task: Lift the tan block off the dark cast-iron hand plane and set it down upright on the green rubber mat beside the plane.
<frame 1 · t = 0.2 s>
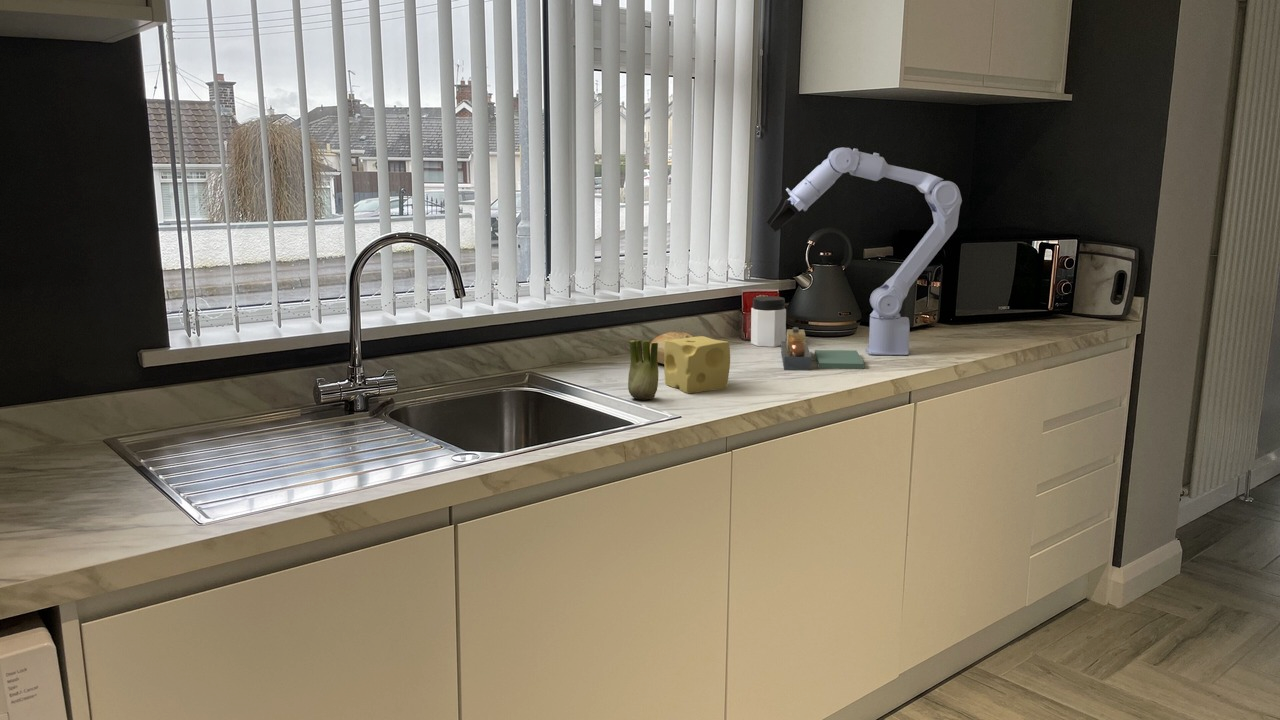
hand: (770, 226, 236), 31 cm above the worktop, tool tilted 45°, fingers open, 7 cm apart
bread roll: (674, 367, 227), on the worktop
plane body: (795, 361, 230), on the worktop
fennel bulb: (642, 400, 195), on the worktop
jar: (768, 345, 252), on the worktop
mat: (838, 361, 229), on the worktop
tan block: (795, 348, 230), point 3 cm above the worktop, touching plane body
cheese: (695, 387, 205), on the worktop
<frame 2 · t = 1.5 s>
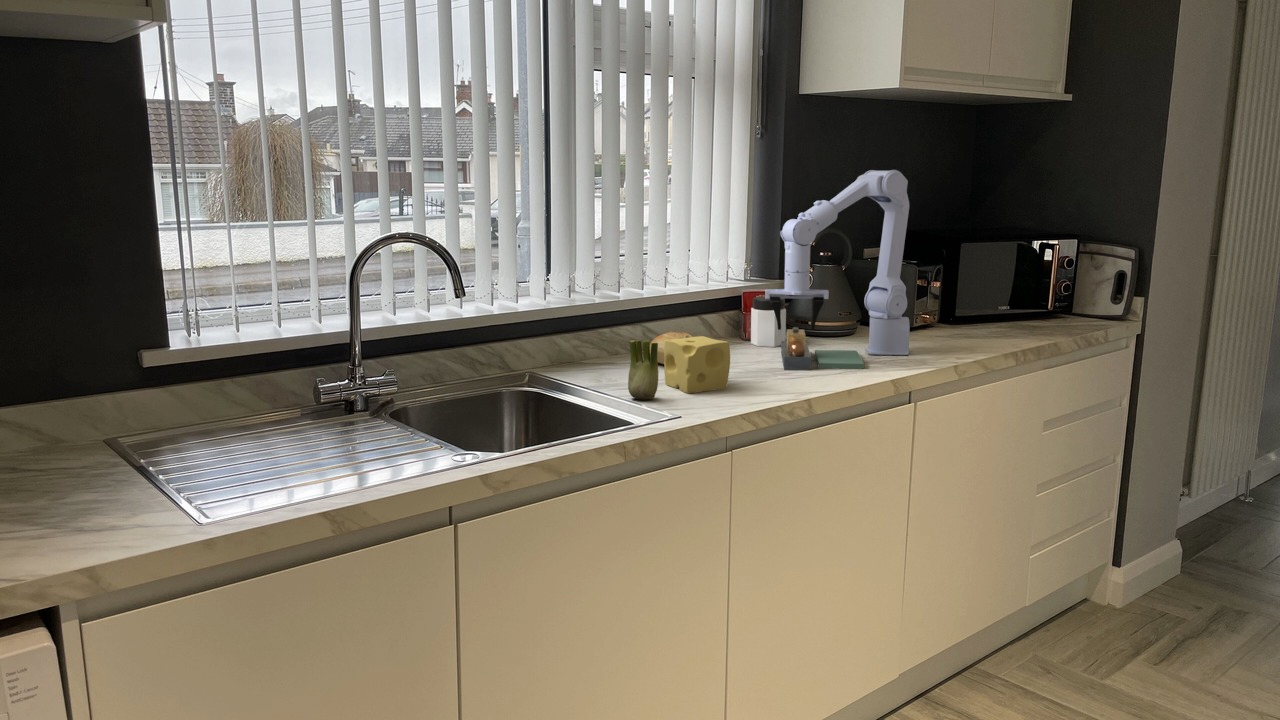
hand: (795, 329, 229), 8 cm above the worktop, tool pointing down, fingers open, 7 cm apart
nothing on the worktop moved.
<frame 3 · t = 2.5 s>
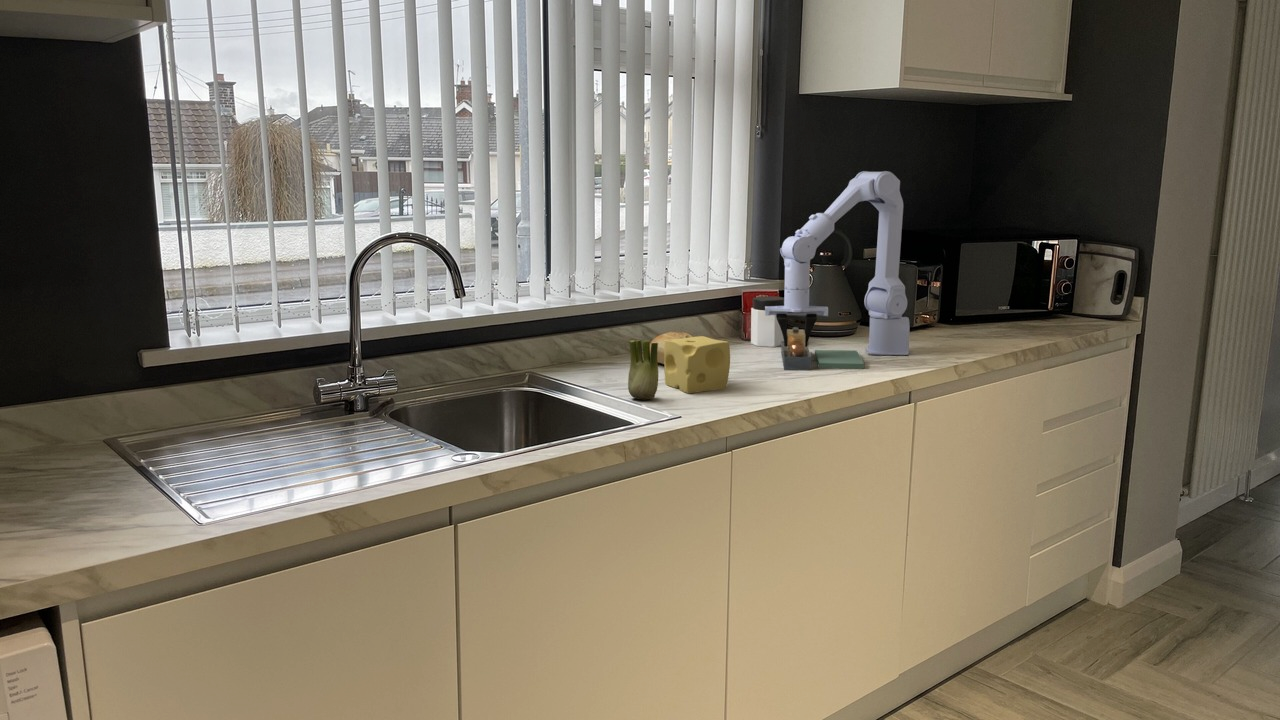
hand: (795, 345, 230), 4 cm above the worktop, tool pointing down, fingers closed on tan block, 4 cm apart
tan block: (795, 348, 230), point 3 cm above the worktop, touching gripper, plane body
everything else where it was.
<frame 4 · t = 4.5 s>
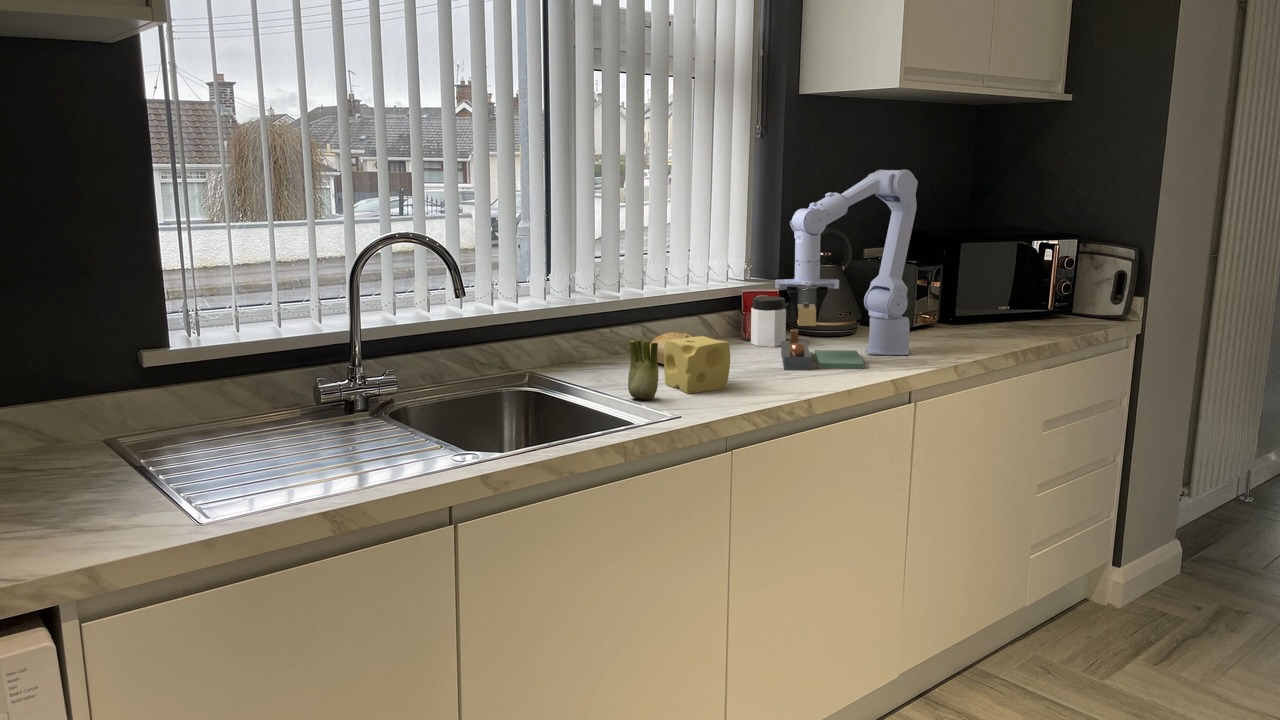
hand: (806, 319, 228), 10 cm above the worktop, tool pointing down, fingers closed on tan block, 4 cm apart
tan block: (806, 323, 228), point 9 cm above the worktop, touching gripper
everything else where it was.
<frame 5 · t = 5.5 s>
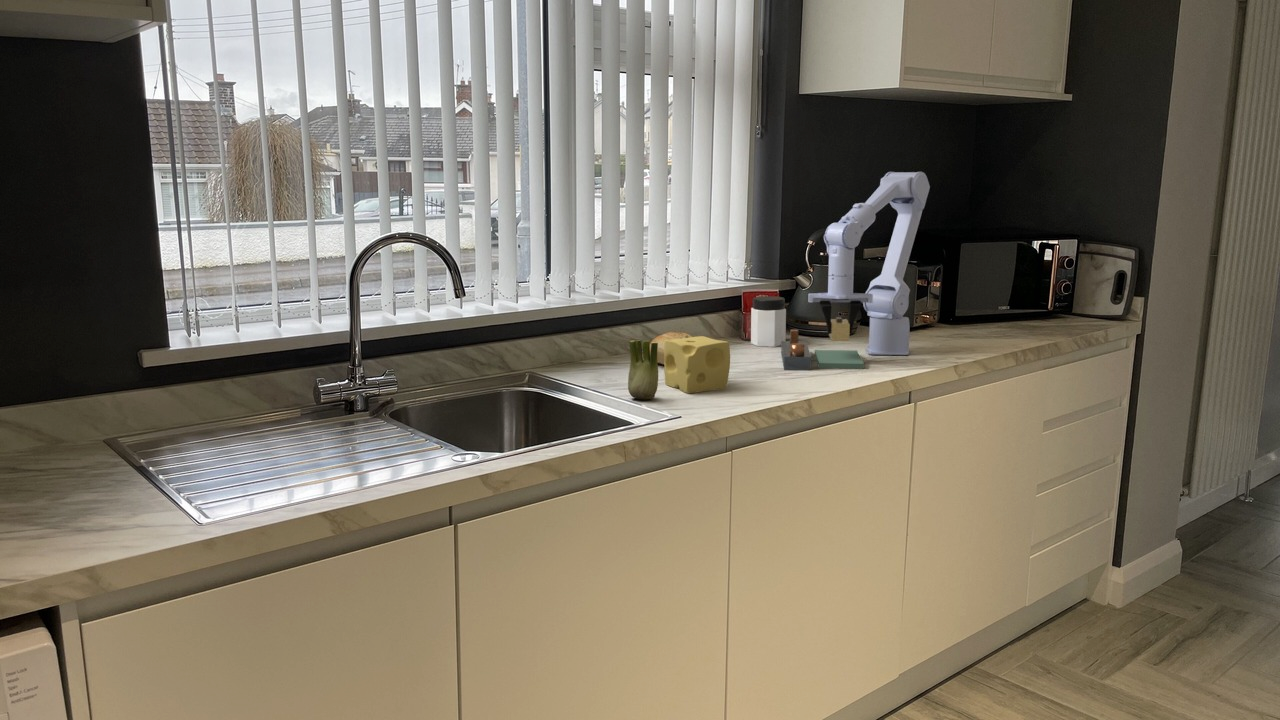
hand: (839, 333, 228), 7 cm above the worktop, tool pointing down, fingers closed on tan block, 4 cm apart
tan block: (839, 338, 228), point 6 cm above the worktop, touching gripper
everything else where it was.
when the fingers open (3 cm above the worktop, at t = 6.5 s): tan block stays where it is, resting on mat.
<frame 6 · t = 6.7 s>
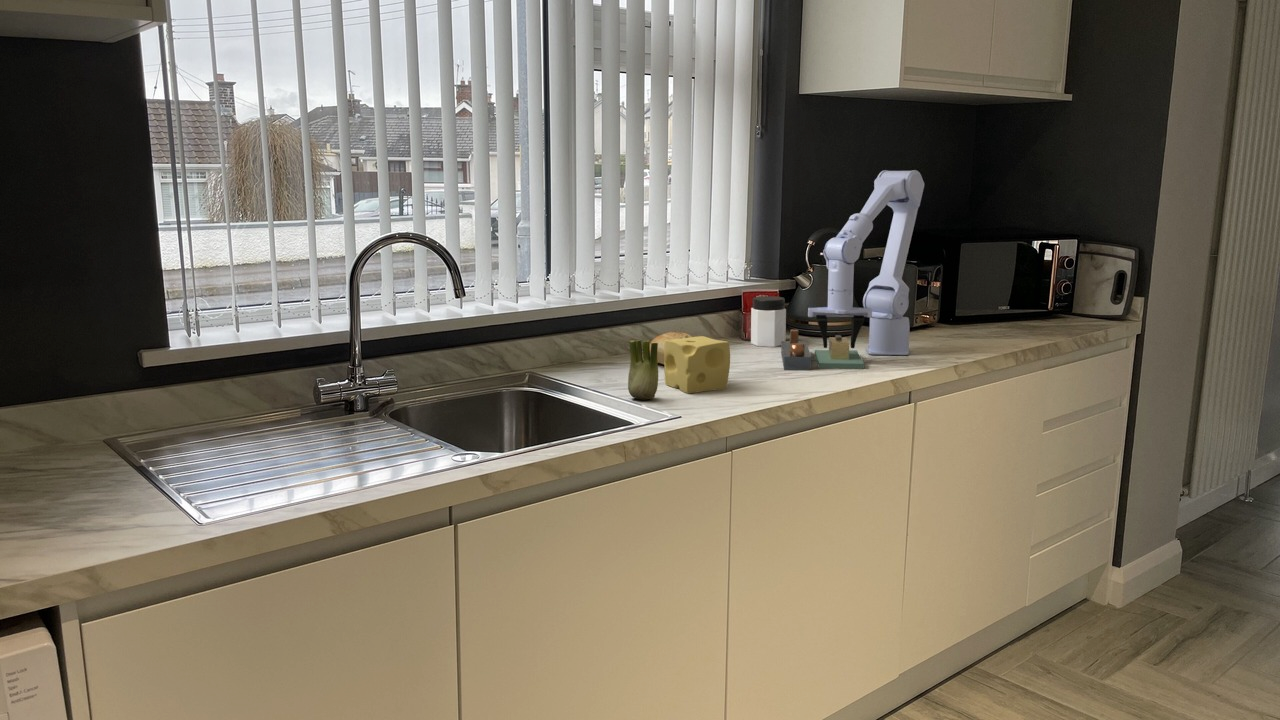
hand: (838, 347, 229), 3 cm above the worktop, tool pointing down, fingers open, 6 cm apart
tan block: (838, 356, 229), point 1 cm above the worktop, touching mat
everything else where it was.
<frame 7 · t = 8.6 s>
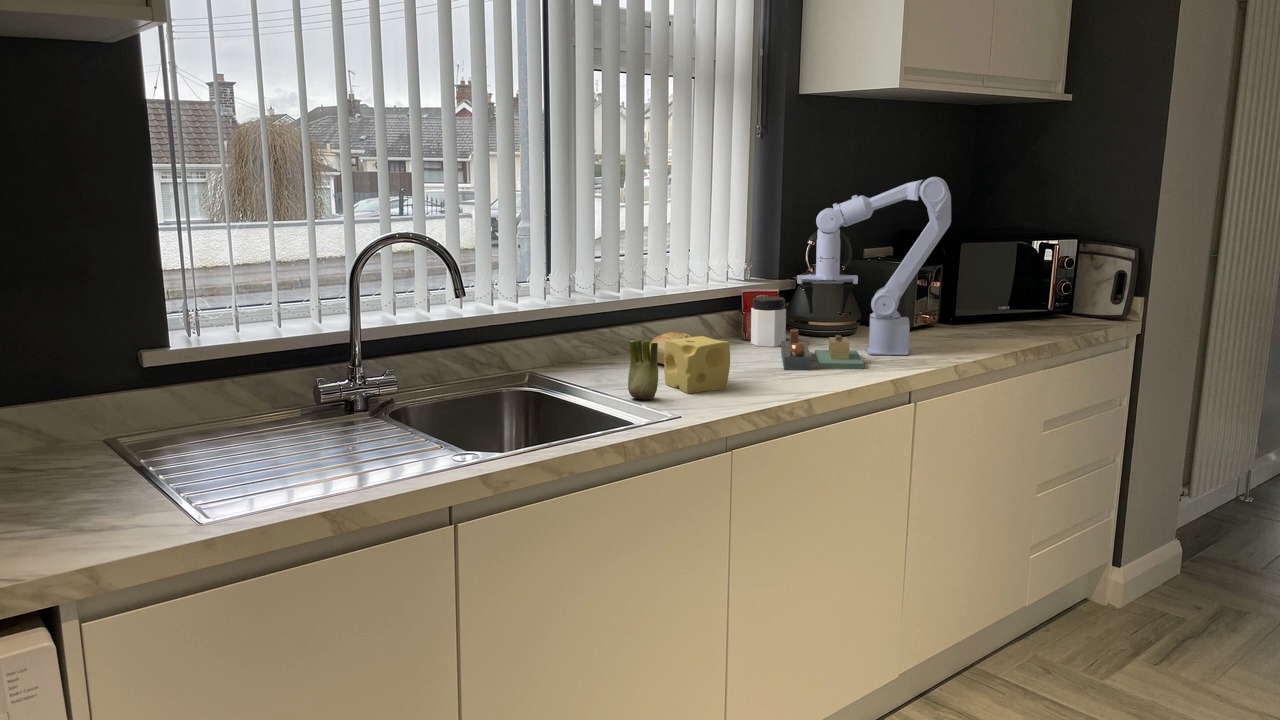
hand: (826, 312, 242), 9 cm above the worktop, tool pointing down, fingers open, 7 cm apart
nothing on the worktop moved.
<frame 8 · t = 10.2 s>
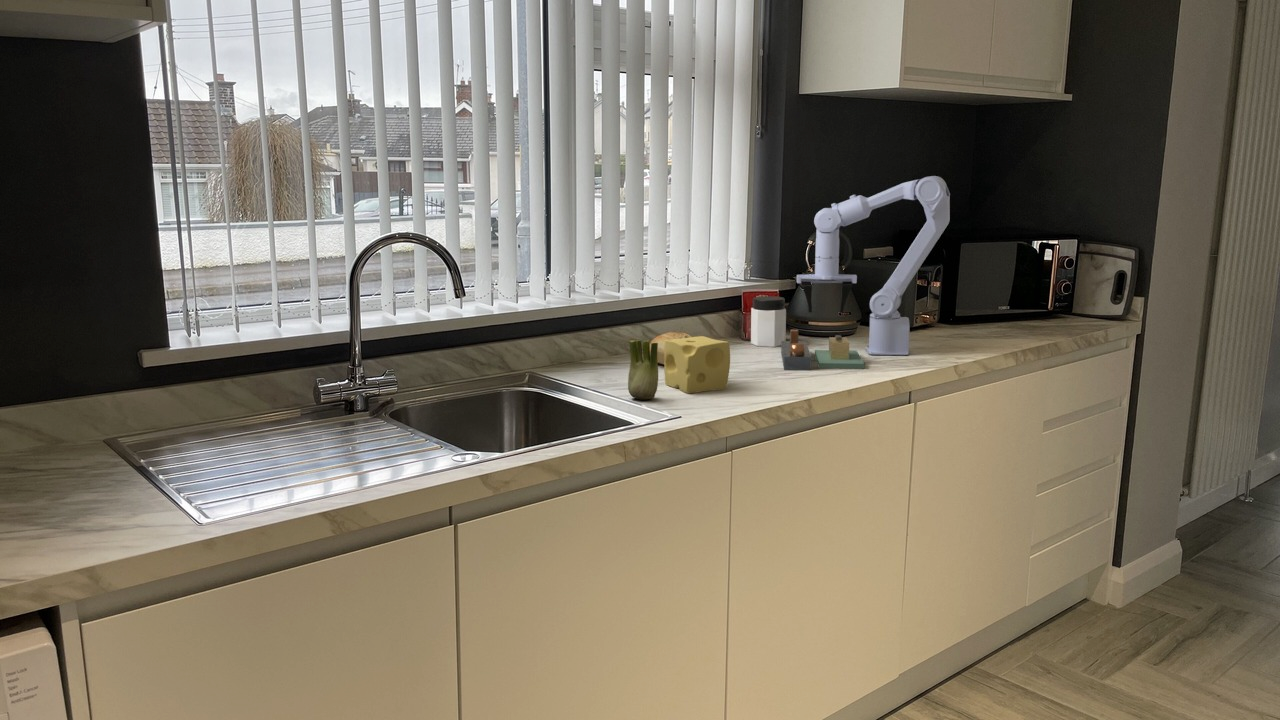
hand: (825, 311, 243), 9 cm above the worktop, tool pointing down, fingers open, 7 cm apart
nothing on the worktop moved.
at the end: tan block inside the target area on the mat (0.0 cm from its centre), point 1.2 cm above the mat's base; tan block tilted 0°; tan block touching mat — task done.
